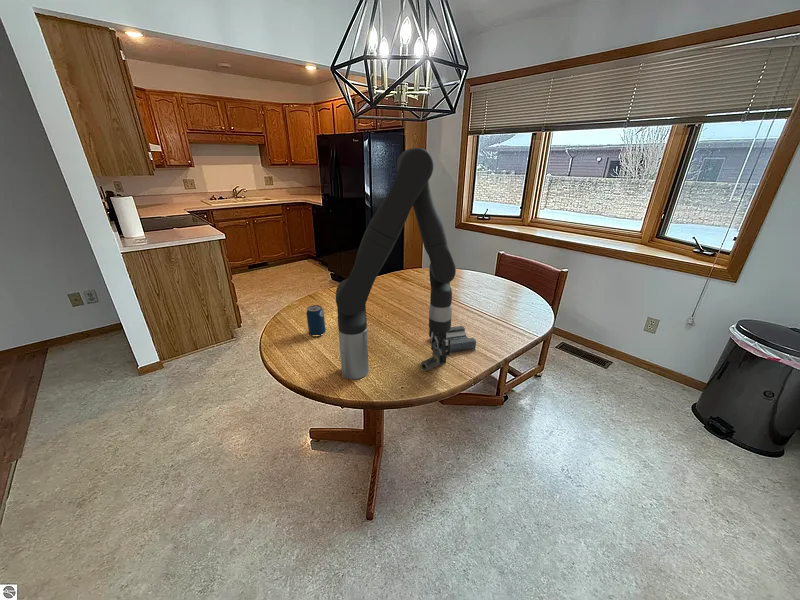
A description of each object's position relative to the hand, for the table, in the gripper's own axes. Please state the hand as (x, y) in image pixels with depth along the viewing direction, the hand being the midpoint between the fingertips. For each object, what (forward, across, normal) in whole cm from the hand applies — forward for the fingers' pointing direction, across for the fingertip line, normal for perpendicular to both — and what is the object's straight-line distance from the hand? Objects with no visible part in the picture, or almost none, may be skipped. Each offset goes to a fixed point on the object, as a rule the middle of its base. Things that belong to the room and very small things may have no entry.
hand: (438, 356), depth 115 cm
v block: (+4, -12, +11) cm, 16 cm away
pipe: (+4, 0, -1) cm, 4 cm away
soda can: (+3, -33, -42) cm, 53 cm away
